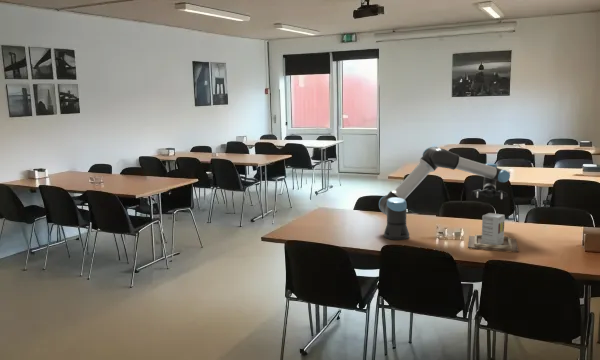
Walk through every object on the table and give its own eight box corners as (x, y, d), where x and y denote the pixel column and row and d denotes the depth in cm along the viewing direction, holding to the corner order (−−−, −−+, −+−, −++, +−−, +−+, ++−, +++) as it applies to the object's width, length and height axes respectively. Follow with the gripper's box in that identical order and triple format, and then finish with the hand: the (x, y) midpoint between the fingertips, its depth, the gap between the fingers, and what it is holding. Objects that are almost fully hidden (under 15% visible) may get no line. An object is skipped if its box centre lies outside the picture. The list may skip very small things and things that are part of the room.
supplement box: (497, 247, 282) (498, 217, 279) (480, 244, 288) (481, 215, 286) (504, 243, 289) (505, 214, 286) (488, 240, 295) (489, 212, 292)
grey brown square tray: (467, 248, 284) (467, 244, 284) (469, 237, 306) (469, 233, 306) (518, 252, 275) (518, 247, 275) (515, 240, 298) (516, 236, 297)
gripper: (510, 197, 317) (511, 203, 297) (468, 194, 325) (467, 201, 306) (511, 185, 316) (512, 191, 296) (468, 183, 324) (467, 188, 304)
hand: (489, 196), depth 301 cm, fingers open, 13 cm apart
